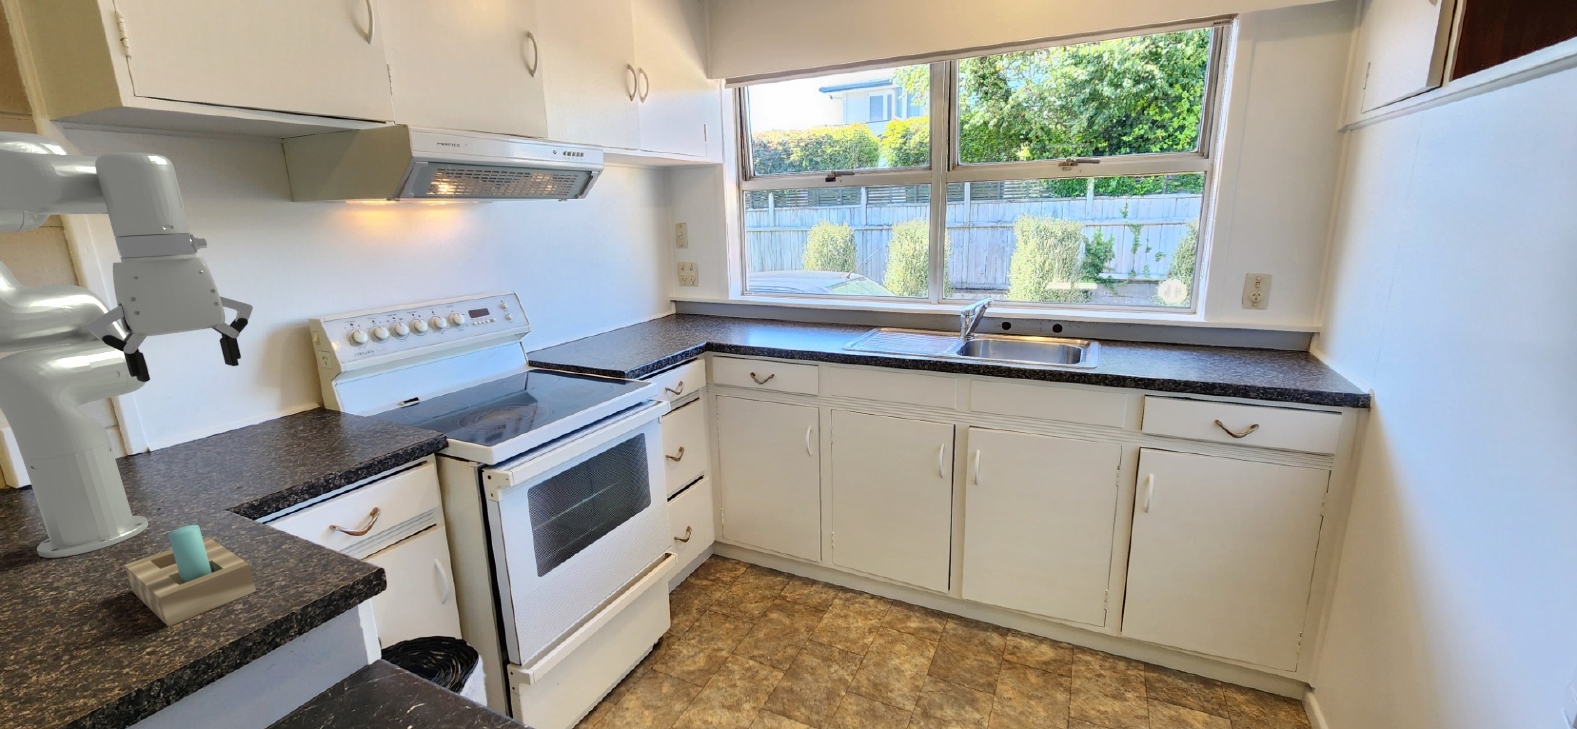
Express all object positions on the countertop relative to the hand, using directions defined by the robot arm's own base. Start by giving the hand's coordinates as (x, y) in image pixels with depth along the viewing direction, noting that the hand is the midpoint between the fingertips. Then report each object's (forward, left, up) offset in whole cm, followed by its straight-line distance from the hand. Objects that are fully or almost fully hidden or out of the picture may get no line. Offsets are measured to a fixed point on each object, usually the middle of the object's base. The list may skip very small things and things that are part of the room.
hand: (189, 372), depth 92 cm
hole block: (+7, -7, -28) cm, 30 cm away
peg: (+11, -7, -28) cm, 31 cm away
